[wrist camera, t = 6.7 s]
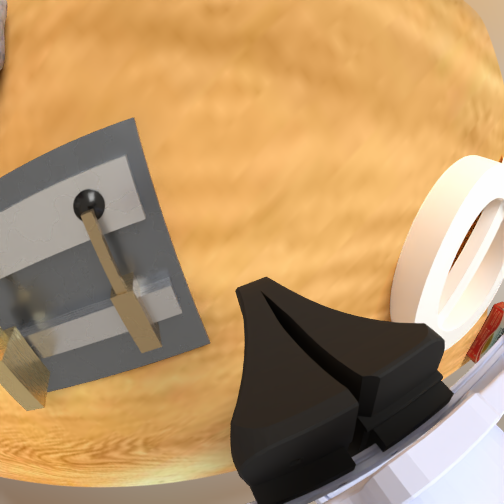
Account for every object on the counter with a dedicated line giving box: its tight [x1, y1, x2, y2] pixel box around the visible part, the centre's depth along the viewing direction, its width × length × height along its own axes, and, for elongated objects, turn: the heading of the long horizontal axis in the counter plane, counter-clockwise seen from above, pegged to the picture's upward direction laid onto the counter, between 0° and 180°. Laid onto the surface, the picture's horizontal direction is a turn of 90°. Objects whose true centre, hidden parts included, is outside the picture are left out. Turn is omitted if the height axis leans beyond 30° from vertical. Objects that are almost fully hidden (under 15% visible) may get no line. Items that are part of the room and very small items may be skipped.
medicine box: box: [467, 302, 504, 364], centre depth 51 cm, size 15×8×8 cm, turn 168°
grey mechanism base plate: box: [0, 118, 210, 392], centre depth 17 cm, size 18×18×3 cm
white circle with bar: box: [390, 155, 504, 351], centre depth 32 cm, size 28×28×5 cm
